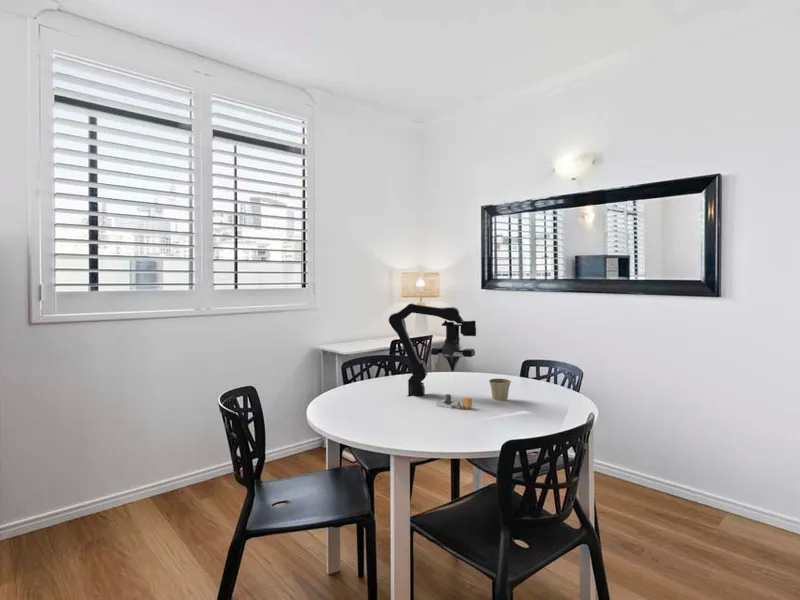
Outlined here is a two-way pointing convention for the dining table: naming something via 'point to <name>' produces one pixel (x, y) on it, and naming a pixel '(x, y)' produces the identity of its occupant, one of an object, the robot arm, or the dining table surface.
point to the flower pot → (500, 388)
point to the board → (448, 400)
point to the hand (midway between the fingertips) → (452, 371)
